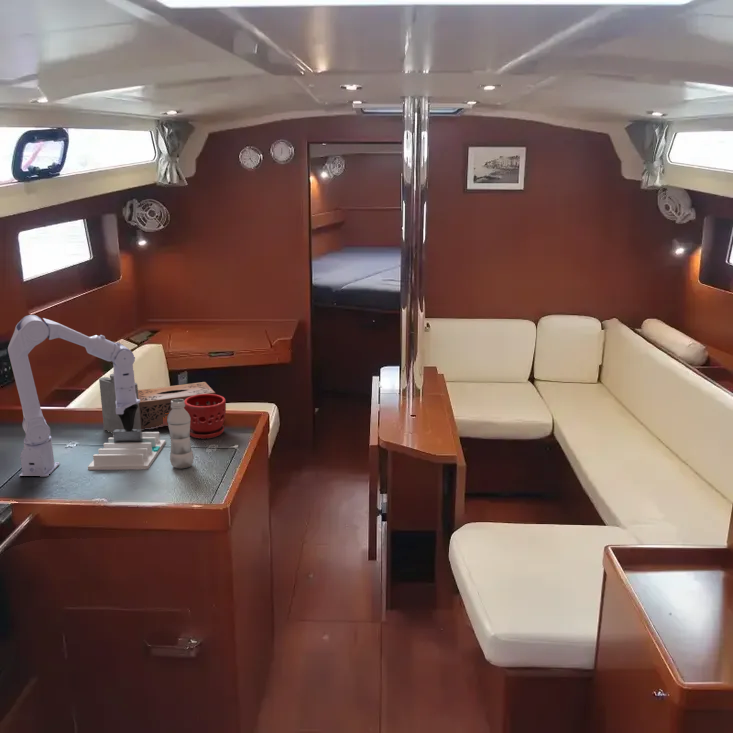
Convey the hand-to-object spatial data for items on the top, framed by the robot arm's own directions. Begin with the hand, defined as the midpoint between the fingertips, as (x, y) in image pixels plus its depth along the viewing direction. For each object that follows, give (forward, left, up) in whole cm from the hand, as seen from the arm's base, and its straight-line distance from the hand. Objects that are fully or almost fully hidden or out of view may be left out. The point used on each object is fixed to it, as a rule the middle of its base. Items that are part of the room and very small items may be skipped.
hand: (128, 429), depth 223 cm
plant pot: (+16, -20, -8) cm, 27 cm away
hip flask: (+18, +8, -8) cm, 21 cm away
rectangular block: (0, +1, -6) cm, 6 cm away
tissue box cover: (+32, -6, -8) cm, 33 cm away
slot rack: (-2, 0, -8) cm, 8 cm away
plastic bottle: (-11, -18, -8) cm, 23 cm away
